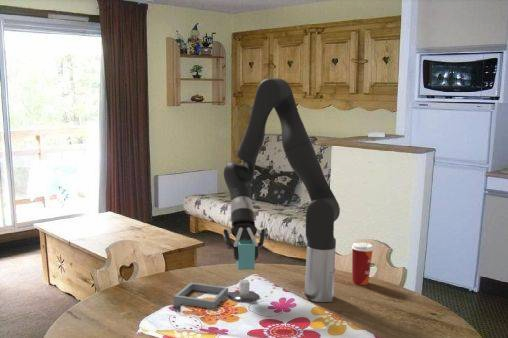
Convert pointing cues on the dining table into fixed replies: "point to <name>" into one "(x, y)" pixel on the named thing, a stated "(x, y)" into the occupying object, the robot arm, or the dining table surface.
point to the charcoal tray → (181, 298)
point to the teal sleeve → (246, 255)
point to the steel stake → (243, 293)
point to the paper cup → (361, 262)
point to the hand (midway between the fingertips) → (246, 259)
